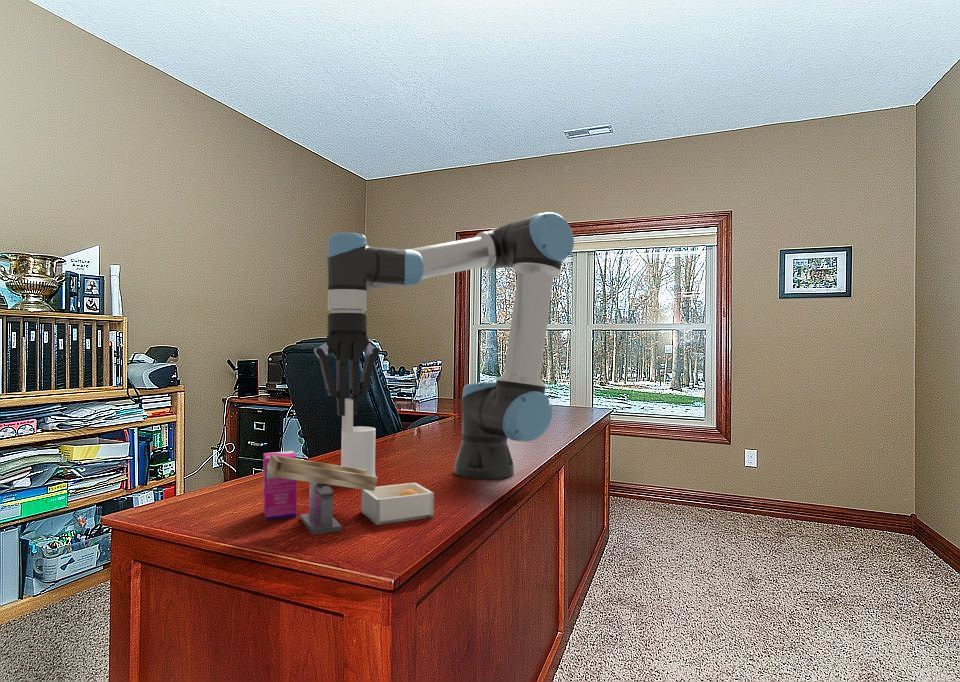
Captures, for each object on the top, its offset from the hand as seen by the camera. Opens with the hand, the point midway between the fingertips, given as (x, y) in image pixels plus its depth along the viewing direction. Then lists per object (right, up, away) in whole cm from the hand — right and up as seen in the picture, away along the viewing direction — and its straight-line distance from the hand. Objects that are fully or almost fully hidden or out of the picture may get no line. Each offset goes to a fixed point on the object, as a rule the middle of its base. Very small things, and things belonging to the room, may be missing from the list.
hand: (347, 431), depth 113 cm
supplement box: (-12, -15, -5) cm, 20 cm away
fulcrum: (-2, -15, -11) cm, 18 cm away
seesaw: (-4, -7, -8) cm, 11 cm away
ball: (+12, -13, -2) cm, 18 cm away
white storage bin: (+10, -15, -4) cm, 19 cm away
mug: (-3, -16, +27) cm, 31 cm away
